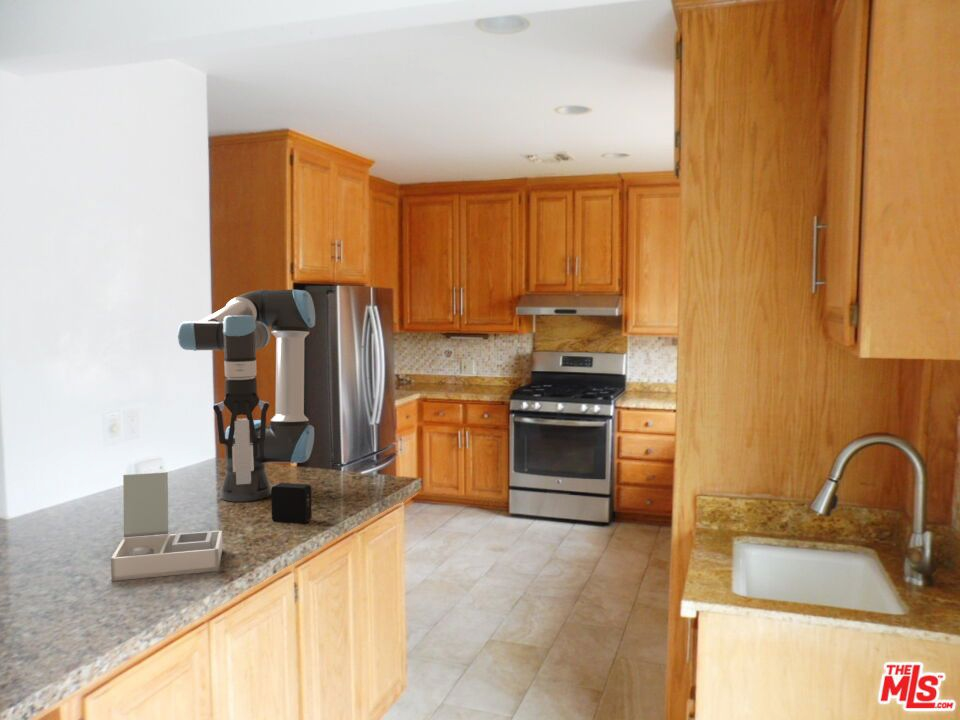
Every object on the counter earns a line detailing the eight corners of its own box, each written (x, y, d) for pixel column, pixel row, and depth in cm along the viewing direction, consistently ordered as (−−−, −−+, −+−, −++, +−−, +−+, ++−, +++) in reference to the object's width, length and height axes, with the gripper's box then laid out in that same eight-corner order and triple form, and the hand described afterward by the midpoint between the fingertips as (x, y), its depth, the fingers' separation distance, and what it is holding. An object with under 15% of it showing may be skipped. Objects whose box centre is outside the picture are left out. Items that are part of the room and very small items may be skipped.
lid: (123, 537, 168) (124, 537, 169) (167, 534, 170) (168, 533, 171) (123, 475, 169) (124, 474, 170) (167, 472, 171) (167, 472, 172)
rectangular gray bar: (236, 480, 180) (235, 418, 179) (251, 480, 181) (249, 418, 180) (236, 484, 177) (234, 421, 176) (250, 483, 178) (249, 420, 177)
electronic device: (305, 524, 196) (304, 488, 195) (271, 521, 198) (270, 486, 197) (311, 519, 200) (311, 484, 199) (278, 517, 202) (278, 482, 201)
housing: (124, 558, 169) (123, 534, 168) (222, 550, 175) (222, 526, 174) (111, 581, 155) (110, 554, 155) (218, 570, 162) (218, 545, 161)
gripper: (204, 380, 171) (207, 476, 173) (275, 378, 175) (277, 471, 178) (206, 376, 178) (209, 468, 180) (275, 374, 183) (277, 464, 185)
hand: (243, 469), depth 179 cm, fingers closed on rectangular gray bar, 3 cm apart
